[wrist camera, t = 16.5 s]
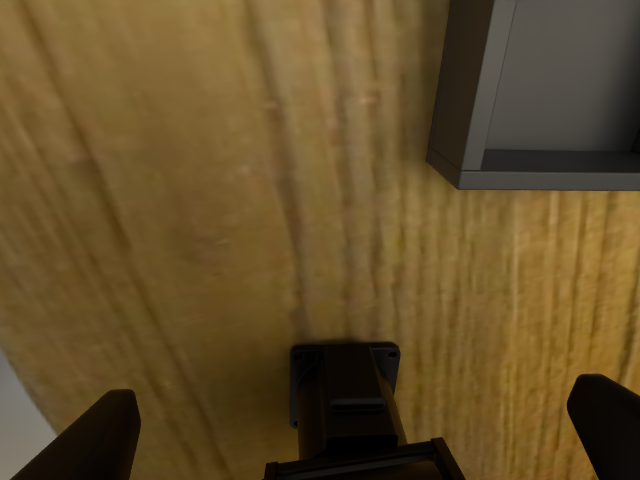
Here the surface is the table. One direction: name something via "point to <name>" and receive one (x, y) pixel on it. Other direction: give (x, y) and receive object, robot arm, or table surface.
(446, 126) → the storage tray
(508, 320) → the table surface
